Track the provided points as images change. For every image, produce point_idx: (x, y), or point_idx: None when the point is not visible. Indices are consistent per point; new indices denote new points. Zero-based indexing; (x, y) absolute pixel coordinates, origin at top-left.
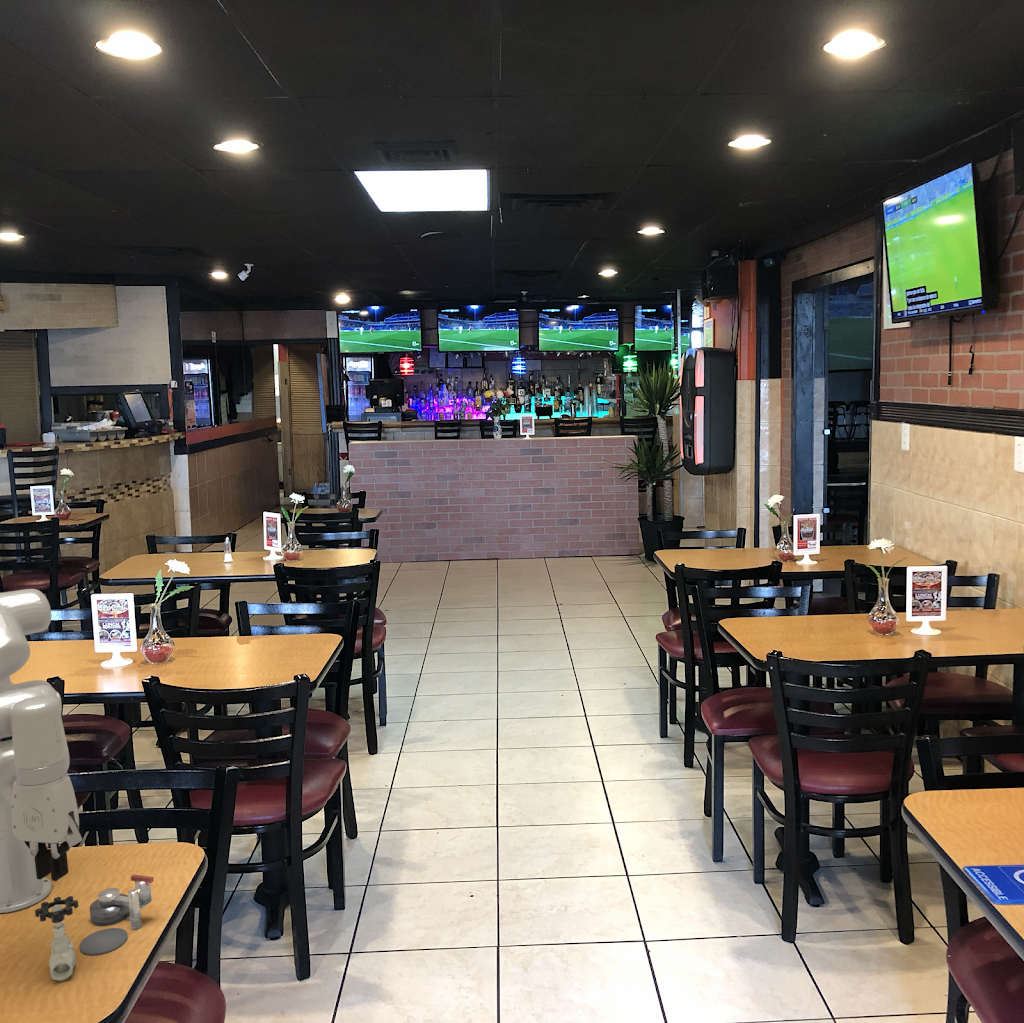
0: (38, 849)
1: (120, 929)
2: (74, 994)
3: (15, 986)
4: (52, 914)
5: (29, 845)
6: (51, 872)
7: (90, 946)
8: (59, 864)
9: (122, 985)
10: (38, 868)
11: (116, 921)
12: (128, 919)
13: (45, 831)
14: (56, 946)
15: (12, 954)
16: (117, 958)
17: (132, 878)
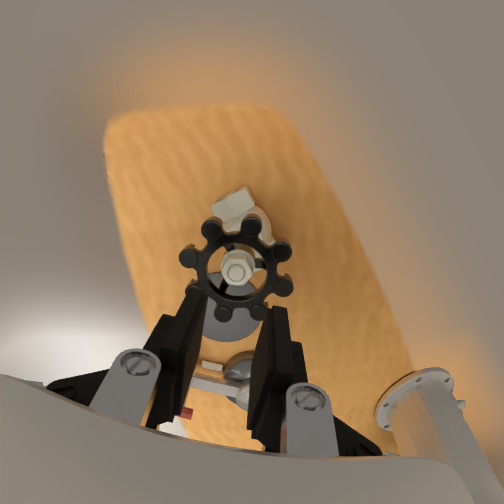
0: (283, 421)
1: (211, 337)
2: (189, 159)
3: (315, 182)
4: (219, 225)
5: (348, 440)
6: (192, 307)
7: (236, 293)
8: (151, 338)
9: (122, 188)
10: (273, 333)
11: (233, 358)
12: (218, 363)
13: (23, 495)
14: (241, 221)
15: (370, 277)
16: (172, 262)
17: (188, 411)
